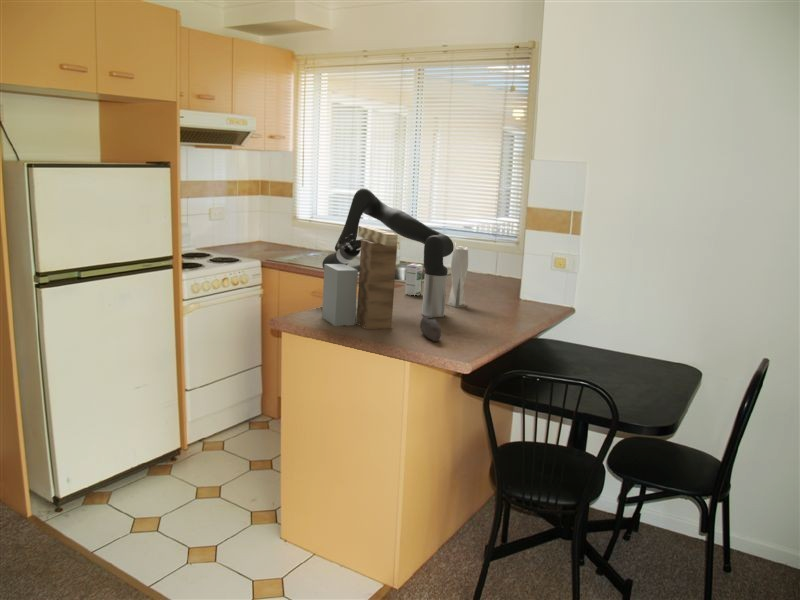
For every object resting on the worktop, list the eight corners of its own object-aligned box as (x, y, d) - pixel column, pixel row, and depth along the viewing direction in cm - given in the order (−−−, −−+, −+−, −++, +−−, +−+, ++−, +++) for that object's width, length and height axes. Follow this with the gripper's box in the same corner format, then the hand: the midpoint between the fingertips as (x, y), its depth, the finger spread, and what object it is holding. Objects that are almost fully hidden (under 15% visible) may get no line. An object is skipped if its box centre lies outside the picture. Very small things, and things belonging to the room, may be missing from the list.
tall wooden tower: (356, 322, 257) (361, 239, 250) (380, 321, 261) (385, 239, 255) (367, 329, 248) (372, 243, 241) (391, 328, 252) (397, 243, 246)
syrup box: (415, 296, 315) (417, 265, 312) (404, 294, 318) (406, 264, 315) (421, 294, 319) (423, 264, 316) (410, 292, 322) (412, 263, 319)
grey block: (322, 317, 262) (324, 264, 257) (341, 316, 265) (343, 263, 261) (334, 326, 250) (337, 270, 245) (354, 325, 253) (357, 270, 249)
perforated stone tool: (444, 344, 235) (445, 325, 234) (429, 344, 234) (431, 325, 233) (432, 333, 249) (433, 315, 248) (418, 333, 248) (420, 314, 247)
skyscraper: (442, 304, 302) (447, 242, 296) (453, 302, 308) (459, 241, 302) (457, 307, 296) (463, 244, 290) (468, 305, 302) (474, 243, 296)
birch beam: (358, 236, 260) (358, 225, 259) (367, 236, 262) (368, 226, 261) (386, 245, 238) (387, 234, 237) (396, 245, 239) (397, 234, 238)
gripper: (330, 243, 273) (344, 227, 259) (362, 243, 280) (377, 227, 266) (333, 260, 271) (346, 245, 257) (365, 260, 278) (380, 245, 264)
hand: (362, 236), depth 262 cm, fingers open, 8 cm apart
